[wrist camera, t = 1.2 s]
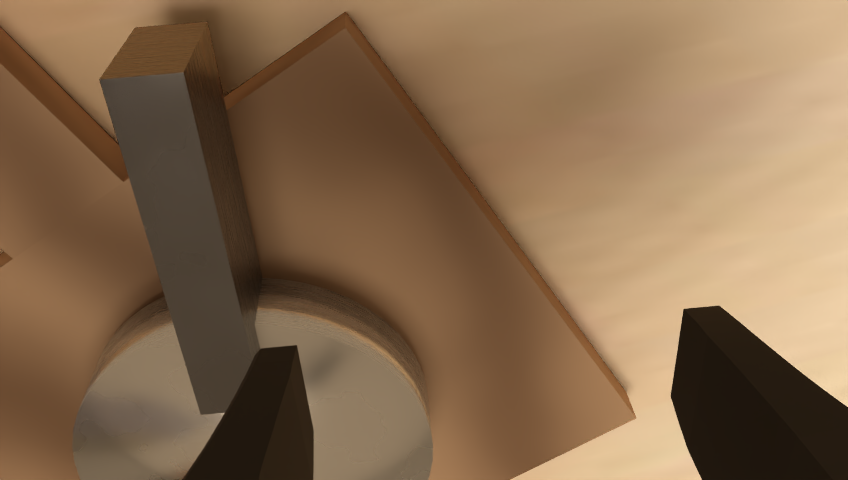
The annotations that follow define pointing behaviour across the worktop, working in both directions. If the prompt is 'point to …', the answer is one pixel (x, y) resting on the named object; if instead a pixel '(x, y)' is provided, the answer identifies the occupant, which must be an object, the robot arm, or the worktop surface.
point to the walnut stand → (291, 259)
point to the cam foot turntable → (227, 300)
